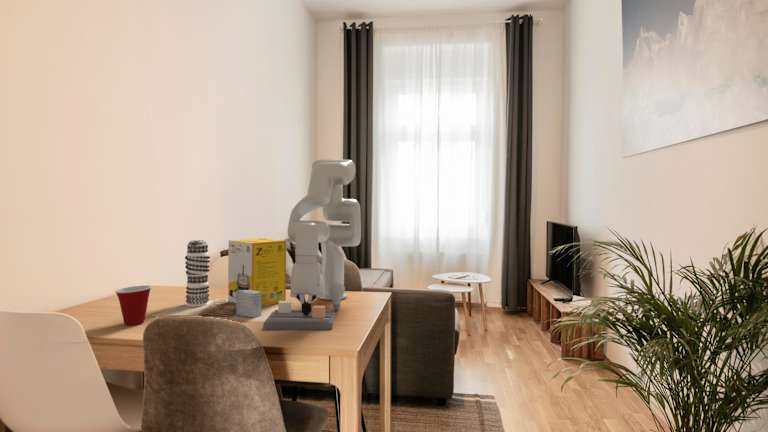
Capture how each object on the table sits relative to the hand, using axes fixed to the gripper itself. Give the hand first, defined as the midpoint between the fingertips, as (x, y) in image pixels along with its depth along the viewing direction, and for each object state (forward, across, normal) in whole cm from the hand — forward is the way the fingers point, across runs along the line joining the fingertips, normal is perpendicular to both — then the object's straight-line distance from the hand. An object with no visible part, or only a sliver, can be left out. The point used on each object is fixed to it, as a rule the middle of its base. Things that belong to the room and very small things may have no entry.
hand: (306, 314), depth 152 cm
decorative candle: (+4, +46, -30) cm, 55 cm away
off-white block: (+1, +8, -7) cm, 11 cm away
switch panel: (+4, +2, -3) cm, 5 cm away
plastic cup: (+4, +57, -2) cm, 57 cm away
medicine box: (+4, +22, -13) cm, 26 cm away
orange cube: (+1, -4, 0) cm, 4 cm away
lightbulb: (+4, -9, -22) cm, 24 cm away
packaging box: (+4, +24, -35) cm, 43 cm away
